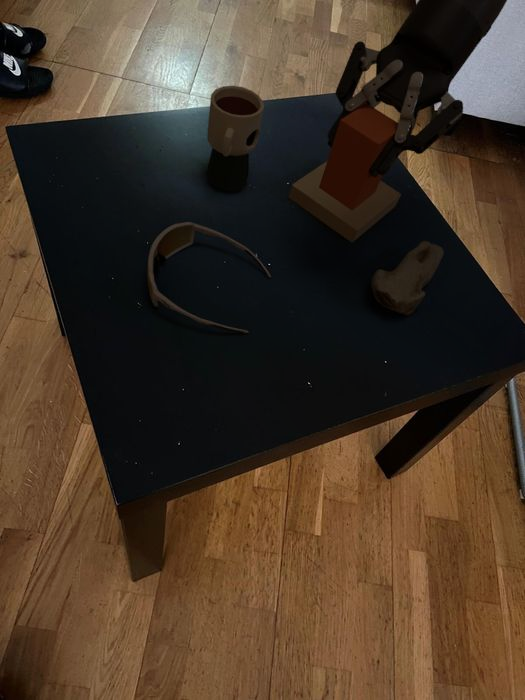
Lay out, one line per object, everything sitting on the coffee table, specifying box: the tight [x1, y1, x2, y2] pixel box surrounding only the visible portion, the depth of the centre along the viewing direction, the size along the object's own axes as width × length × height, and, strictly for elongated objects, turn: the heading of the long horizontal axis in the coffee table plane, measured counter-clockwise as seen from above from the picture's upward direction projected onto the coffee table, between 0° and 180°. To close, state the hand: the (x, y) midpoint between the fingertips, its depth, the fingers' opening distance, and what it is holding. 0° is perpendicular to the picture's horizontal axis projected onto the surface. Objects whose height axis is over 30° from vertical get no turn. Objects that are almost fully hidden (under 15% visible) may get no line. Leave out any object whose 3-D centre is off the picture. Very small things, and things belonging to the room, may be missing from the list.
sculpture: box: [370, 240, 445, 316], centre depth 73 cm, size 7×5×15 cm
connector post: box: [319, 103, 399, 210], centre depth 60 cm, size 5×5×9 cm
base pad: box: [288, 161, 402, 244], centre depth 82 cm, size 12×12×2 cm
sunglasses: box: [146, 221, 272, 334], centre depth 68 cm, size 14×15×5 cm
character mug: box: [205, 85, 265, 192], centre depth 76 cm, size 11×7×13 cm, turn 170°
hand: (352, 160), depth 59 cm, fingers closed on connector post, 5 cm apart
